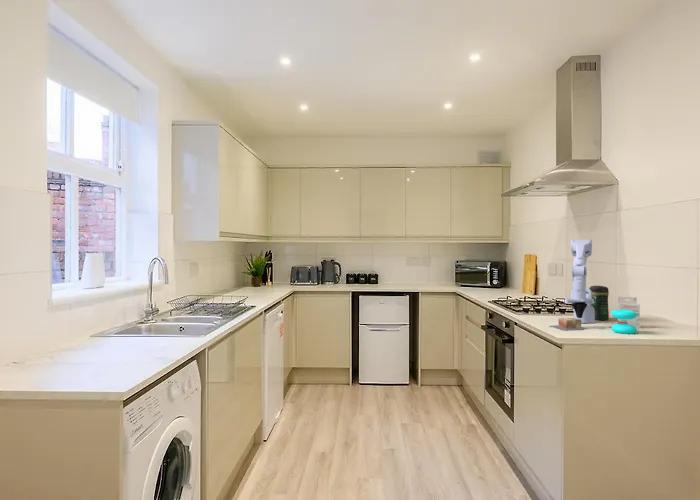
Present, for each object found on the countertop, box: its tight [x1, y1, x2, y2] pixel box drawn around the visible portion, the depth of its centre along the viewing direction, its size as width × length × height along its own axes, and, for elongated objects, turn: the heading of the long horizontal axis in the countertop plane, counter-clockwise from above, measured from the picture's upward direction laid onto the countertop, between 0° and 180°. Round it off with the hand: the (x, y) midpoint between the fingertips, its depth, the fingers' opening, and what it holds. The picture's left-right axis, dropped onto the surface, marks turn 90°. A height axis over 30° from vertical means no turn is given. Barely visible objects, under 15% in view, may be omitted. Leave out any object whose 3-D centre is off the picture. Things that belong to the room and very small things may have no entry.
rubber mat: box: [549, 324, 584, 331], centre depth 215 cm, size 10×12×1 cm
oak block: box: [558, 317, 582, 329], centre depth 215 cm, size 4×6×8 cm
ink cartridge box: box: [617, 296, 641, 329], centre depth 217 cm, size 9×5×15 cm, turn 71°
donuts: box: [611, 309, 638, 335], centre depth 203 cm, size 10×10×10 cm
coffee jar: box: [588, 285, 610, 321], centre depth 241 cm, size 10×8×19 cm
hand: (579, 317), depth 216 cm, fingers closed
